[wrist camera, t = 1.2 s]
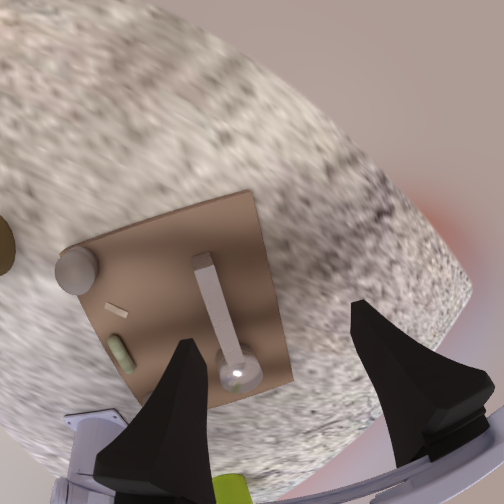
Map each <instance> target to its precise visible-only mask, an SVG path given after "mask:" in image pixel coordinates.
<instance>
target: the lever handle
mask: <svg viewBox="0 0 504 504" xmlns="http://www.w3.org/2000/svg"><path fill="white" fill-rule="evenodd" d="M192 263H193V269H194V273H195V276H196V279H197V282H198V285H199V288H200V291H201V294H202V297H203V299H204V302H205V305H206V308H207V311H208V314H209V316H210V319H211V322H212V325H213V327H214V330H215V333H216V335H217V338H218V341H219V343H220V346H221V349H220V350H219V351H218V353H217V355H216V364H217V368H218V372H219V376H220V380H221V384H222V386H223V388H224V389H225V390H227V391H228V392H231V393H236V394H240V393H246V392H249V391H251V390H253V389H255V388H256V387H257V386H258V385H259V384H260V383H261V381H262V378H263V372H262V370H261V367H260V365H259V363H258V361H257V358H256V356H255V354H254V352H253V350H252V348H251V347H250V346H249V345H247V344H245V343H240V342H238V339H237V336H236V333H235V330H234V327H233V324H232V321H231V318H230V315H229V311H228V308H227V305H226V302H225V299H224V296H223V293H222V289H221V286H220V283H219V280H218V276H217V273H216V270H215V266H214V264H213V261H212V258H211V256H210V253H209V252H206V253H203V254H200V255H197V256H193V257H192Z"/></svg>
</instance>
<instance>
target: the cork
mask: <svg viewBox="0 0 504 504" xmlns="http://www.w3.org/2000/svg"><path fill="white" fill-rule="evenodd" d="M15 252H16V250H15V240H14V237H13V234H12V231H11V229H10V227H9V225H8V223H7V222H6V221H5V220H4V219H3V218H2V217H1V216H0V276H1V275H3V274H5V273H7V272H8V271H9V270H10V269H11V267H12V265H13V262H14V259H15Z"/></svg>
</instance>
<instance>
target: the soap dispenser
mask: <svg viewBox="0 0 504 504" xmlns="http://www.w3.org/2000/svg"><path fill="white" fill-rule="evenodd" d="M212 482H213V488H214V493H215V497H216V502H217V503H216V504H253V502H252V499H251V496H250V493H249V490H248V487H247V484H246V481H245V478H244V477H243V476H242V475H239V474H225V475H221V476H217V477H215V478H213V479H212Z"/></svg>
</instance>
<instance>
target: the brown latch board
mask: <svg viewBox="0 0 504 504" xmlns="http://www.w3.org/2000/svg"><path fill="white" fill-rule="evenodd" d="M206 252H209V253H210V256H211V258H212V261H213V264H214V266H215V270H216V273H217V276H218V280H219V283H220V286H221V289H222V293H223V296H224V299H225V302H226V305H227V308H228V311H229V315H230V318H231V321H232V324H233V327H234V330H235V333H236V336H237V339H238V342H240V343H245V344H247V345H249V346H250V347H251V348H252V350H253V352H254V354H255V356H256V358H257V361H258V363H259V365H260V367H261V370H262V372H263V378H262V381H261V383H260V384H259V385H258V386H257V387H256V388H255V389H253V390H251V391H249V392H246V393H240V394H236V393H231V392H228V391H227V390H225V389H224V388H223V386H222V384H221V380H220V376H219V372H218V368H217V364H216V355H217V353H218V351H219V350H220V349H221V346H220V343H219V341H218V338H217V335H216V333H215V330H214V327H213V325H212V322H211V319H210V316H209V314H208V311H207V308H206V305H205V302H204V299H203V297H202V294H201V291H200V288H199V285H198V282H197V279H196V276H195V273H194V269H193V263H192V257H193V256H197V255H200V254H203V253H206ZM59 255H60V257H61V258H60V259H59V260H58V261H57V263H56V266H55V277H56V280H57V282H58V284H59V286H60V287H61V288H62V289H63V290H64V291H65V292H67V293H69V294H72V295H77V297H78V299H79V301H80V303H81V305H82V307H83V309H84V311H85V313H86V315H87V317H88V319H89V321H90V323H91V325H92V327H93V329H94V330H95V332H96V334H97V336H98V338H99V340H100V341H101V343H102V345H103V347H104V348H105V350H106V352H107V353H108V355H109V357H110V359H111V360H112V362H113V364H114V365H115V367H116V368H117V370H118V372H119V373H120V375H121V376H122V378H123V379H124V381H125V382H126V384H127V385H128V387H129V388H130V390H131V391H132V393H133V394H134V396H135V397H136V399H137V400H138V402H139V403H140V404H141V406H142V407H143V406H144V405H145V403H146V402H147V400H148V399H149V397H150V396H151V394H152V393H153V391H154V389H155V387H156V386H157V384H158V382H159V381H160V379H161V377H162V375H163V373H164V371H165V369H166V367H167V366H168V364H169V361H170V359H171V357H172V355H173V353H174V351H175V349H176V347H177V345H178V343H179V341H180V340H182V339H189V338H193V339H194V341H195V343H196V345H197V347H198V349H199V351H200V353H201V355H202V357H203V359H204V360H205V362H206V364H207V372H208V404H207V409H210V408H214V407H217V406H221V405H224V404H228V403H231V402H234V401H237V400H241V399H244V398H247V397H250V396H253V395H256V394H259V393H262V392H265V391H268V390H270V389H273V388H276V387H279V386H281V385H284V384H287V383H289V382H292V381H294V379H293V374H292V369H291V365H290V360H289V355H288V351H287V346H286V341H285V337H284V332H283V327H282V323H281V318H280V314H279V309H278V305H277V300H276V296H275V291H274V287H273V282H272V278H271V273H270V269H269V264H268V260H267V256H266V251H265V247H264V242H263V238H262V234H261V229H260V225H259V221H258V216H257V212H256V208H255V204H254V199H253V195H252V192H251V191H249V190H244V191H241V192H237V193H233V194H230V195H226V196H223V197H219V198H215V199H212V200H209V201H205V202H202V203H198V204H195V205H192V206H188V207H185V208H182V209H178V210H175V211H172V212H169V213H166V214H162V215H159V216H156V217H153V218H150V219H147V220H144V221H141V222H138V223H135V224H132V225H129V226H126V227H123V228H120V229H117V230H115V231H112V232H109V233H106V234H103V235H100V236H98V237H95V238H92V239H89V240H87V241H84V242H81V243H79V244H76V245H73V246H71V247H68V248H66V249H64V250H63V251H62V252H61V253H60V254H59Z"/></svg>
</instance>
